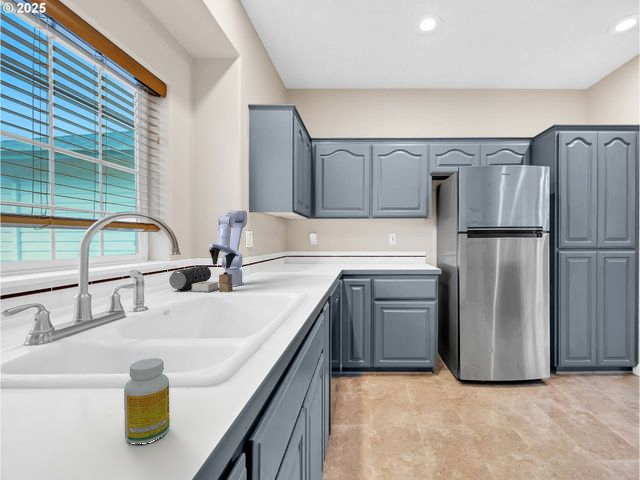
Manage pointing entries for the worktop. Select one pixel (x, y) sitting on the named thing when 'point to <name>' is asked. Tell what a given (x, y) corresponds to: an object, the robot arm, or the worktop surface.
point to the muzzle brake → (189, 277)
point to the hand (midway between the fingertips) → (221, 266)
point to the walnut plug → (225, 282)
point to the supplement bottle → (146, 402)
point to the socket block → (204, 287)
